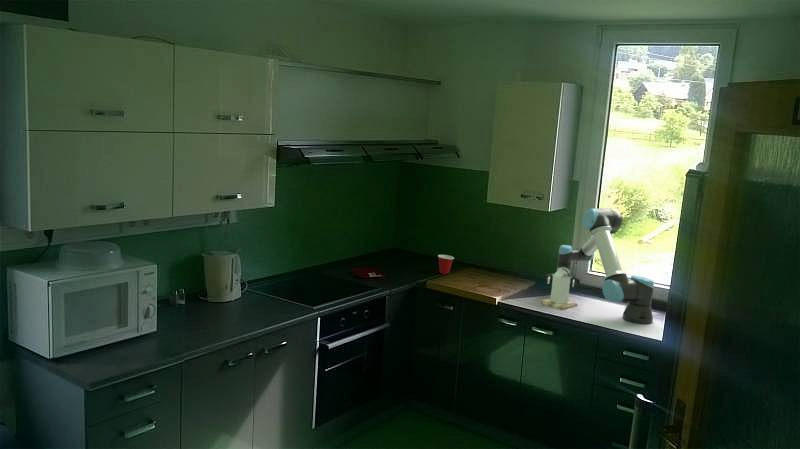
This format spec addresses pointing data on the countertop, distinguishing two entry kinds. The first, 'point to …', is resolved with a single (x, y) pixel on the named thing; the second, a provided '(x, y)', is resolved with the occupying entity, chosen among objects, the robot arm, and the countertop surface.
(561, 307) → the yellow ridged slab
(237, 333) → the countertop surface
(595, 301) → the countertop surface
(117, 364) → the countertop surface
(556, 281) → the milk carton
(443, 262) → the plastic cup
